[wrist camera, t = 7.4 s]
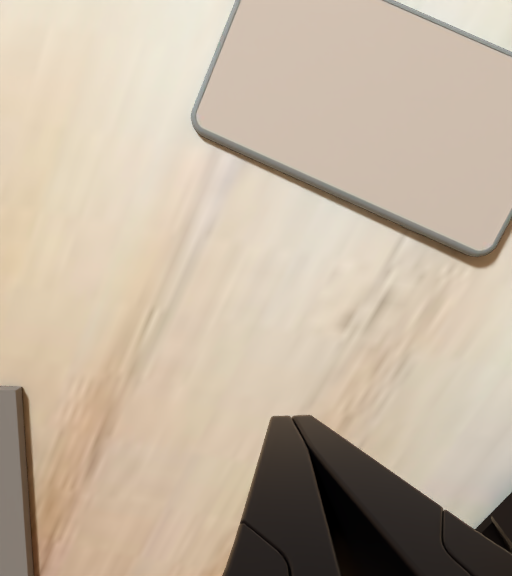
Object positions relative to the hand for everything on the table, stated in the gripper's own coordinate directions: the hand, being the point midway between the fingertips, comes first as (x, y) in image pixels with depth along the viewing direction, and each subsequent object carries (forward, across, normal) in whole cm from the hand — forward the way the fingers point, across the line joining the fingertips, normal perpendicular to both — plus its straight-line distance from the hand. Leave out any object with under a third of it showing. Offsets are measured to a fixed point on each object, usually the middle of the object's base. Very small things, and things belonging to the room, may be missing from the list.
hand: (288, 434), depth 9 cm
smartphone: (+12, -6, -8) cm, 16 cm away
